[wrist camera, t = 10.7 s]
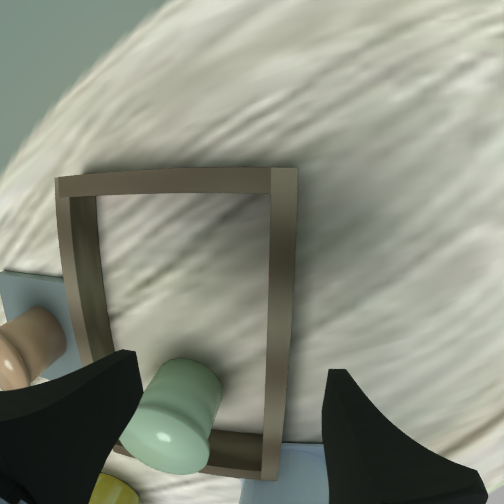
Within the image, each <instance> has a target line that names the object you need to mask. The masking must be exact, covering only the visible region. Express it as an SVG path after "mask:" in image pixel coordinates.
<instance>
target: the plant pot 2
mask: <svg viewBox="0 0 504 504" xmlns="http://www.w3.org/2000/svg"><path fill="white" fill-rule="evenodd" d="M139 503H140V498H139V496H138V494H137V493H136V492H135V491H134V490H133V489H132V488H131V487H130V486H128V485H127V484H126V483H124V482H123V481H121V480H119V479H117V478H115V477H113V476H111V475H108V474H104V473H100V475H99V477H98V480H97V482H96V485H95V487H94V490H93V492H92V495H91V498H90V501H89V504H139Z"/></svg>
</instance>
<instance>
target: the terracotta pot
mask: <svg viewBox="0 0 504 504" xmlns="http://www.w3.org/2000/svg"><path fill="white" fill-rule="evenodd" d="M65 351H66V338H65V334H64V331H63V329H62V327H61V325H60V324H59V322H58V321H57V319H56V318H55V317H54V316H53V315H52V314H51V313H50V312H49V311H48V310H46V309H45V308H43V307H40V306H34V307H32V308H30V309H28V310H26V311H25V312H23V313H21V314H20V315H18V316H16V317H15V318H13V319H12V320H10V321H8V322H7V323H5V324H3V325H2V326H0V388H1V389H2V390H3V391H7V390H15V389H20V388H25V387H29V386H31V383H32V382H33V381H34V380H35V379H36V378H37V377H38V376H39V375H41V374H42V373H43V372H44V371H45V370H46V369H48V368H49V367H50V366H51V365H52V364H53V363H54V362H56V361H57V360H58V359H59V358H60V357H61V356H63V355H64V353H65Z"/></svg>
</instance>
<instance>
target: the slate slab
mask: <svg viewBox="0 0 504 504" xmlns="http://www.w3.org/2000/svg"><path fill="white" fill-rule="evenodd" d="M0 294H1V298H2V303H3V307H4V311H5V315H6V319H7V322H8V321H10V320H12V319H13V318H15V317H16V316H18V315H20V314H21V313H23V312H25V311H26V310H28V309H30V308H32V307H34V306H40V307H43V308H45V309H46V310H48V311H49V312H50V313H51V314H52V315H53V316H54V317H55V318H56V319H57V321H58V322H59V324H60V325H61V327H62V329H63V331H64V334H65V338H66V351H65V353H64V355H63V356H61V357H60V358H59V359H58V360H57V361H56V362H54V363H53V364H52V365H51V366H50V367H49V368H48V369H46V370H45V371H44V372H43V373H42V374H41V375H39V376H40V377H43V378H46V379H49V380H54V379H57V378H59V377H62V376H64V375H66V374H69V373H71V372H74V371H76V370H78V369H80V368H83V367H82V364H81V360H80V356H79V352H78V348H77V344H76V340H75V335H74V331H73V327H72V322H71V317H70V312H69V307H68V302H67V296H66V290H65V284H64V278H58V277H49V276H41V275H33V274H25V273H17V272H9V271H2V272H0Z"/></svg>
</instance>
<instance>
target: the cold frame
mask: <svg viewBox="0 0 504 504" xmlns="http://www.w3.org/2000/svg"><path fill="white" fill-rule="evenodd" d="M297 186H298V168H280V167H199V168H169V169H149V170H132V171H118V172H105V173H94V174H83V175H73V176H64V177H58V178H55V200H56V216H57V228H58V239H59V248H60V256H61V264H62V271H63V278H64V284H65V290H66V296H67V302H68V307H69V312H70V317H71V322H72V327H73V331H74V335H75V340H76V344H77V348H78V352H79V356H80V360H81V364H82V367H85V366H87V365H89V364H91V363H93V362H95V361H97V360H99V359H101V358H103V357H105V356H108V355H110V354H112V353H114V347H113V342H112V337H111V331H110V326H109V320H108V314H107V307H106V301H105V294H104V287H103V279H102V271H101V262H100V252H99V242H98V229H97V214H96V196H100V195H123V194H156V193H266V194H271V210H270V258H269V296H268V328H267V357H266V383H265V407H264V429H263V435H257V434H246V433H236V432H227V431H219V430H211V432H210V435H209V438H208V442H209V445H210V455H209V458H208V461H207V464H206V466H205V467H204V468H203V469H201V470H200V471H198V472H199V473H205V474H212V475H218V476H226V477H234V478H242V479H252V480H264V481H277V479H278V470H279V461H280V452H281V443H282V433H283V423H284V413H285V402H286V391H287V379H288V366H289V353H290V339H291V324H292V308H293V291H294V271H295V249H296V222H297ZM113 451H114V452H116V453H119V454H122V455H126V456H129V457H133V458H135V457H134V456H133V455H131V454H130V453H129V452H128V451H127V450H126V448H125V447H124V446H123V445H122V443H121V442H120V440H119V439H118V441H117V442H116V444H115V446H114V447H113Z"/></svg>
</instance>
